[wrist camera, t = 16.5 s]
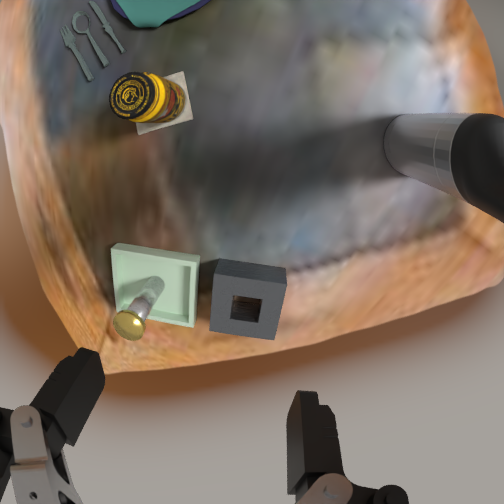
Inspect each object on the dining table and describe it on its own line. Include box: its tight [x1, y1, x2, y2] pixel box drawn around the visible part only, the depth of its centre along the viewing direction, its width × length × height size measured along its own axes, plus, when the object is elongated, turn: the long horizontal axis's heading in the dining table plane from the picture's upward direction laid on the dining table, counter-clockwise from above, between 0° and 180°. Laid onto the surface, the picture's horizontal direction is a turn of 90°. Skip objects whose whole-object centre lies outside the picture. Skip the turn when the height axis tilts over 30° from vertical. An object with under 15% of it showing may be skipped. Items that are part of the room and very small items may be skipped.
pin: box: [113, 276, 165, 341], centre depth 41 cm, size 4×4×12 cm
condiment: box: [109, 71, 193, 135], centre depth 31 cm, size 7×8×12 cm
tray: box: [111, 243, 200, 328], centre depth 46 cm, size 14×12×2 cm
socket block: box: [209, 259, 287, 340], centre depth 45 cm, size 10×10×5 cm
